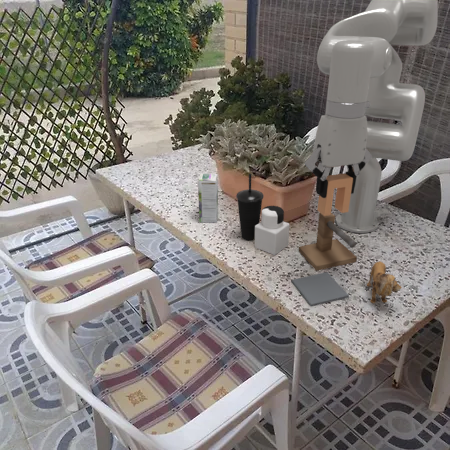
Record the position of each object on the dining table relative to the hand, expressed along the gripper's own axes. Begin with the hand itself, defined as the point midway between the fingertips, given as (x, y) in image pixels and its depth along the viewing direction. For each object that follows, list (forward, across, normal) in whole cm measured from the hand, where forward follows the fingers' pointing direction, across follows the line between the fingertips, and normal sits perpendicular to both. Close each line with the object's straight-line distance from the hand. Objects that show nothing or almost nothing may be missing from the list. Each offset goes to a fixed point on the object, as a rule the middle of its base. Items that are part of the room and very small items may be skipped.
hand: (334, 192), depth 91 cm
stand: (+25, -8, -9) cm, 28 cm away
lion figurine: (+26, -11, +7) cm, 29 cm away
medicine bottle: (+25, +4, -22) cm, 34 cm away
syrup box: (+25, +16, -44) cm, 53 cm away
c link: (+4, 0, 0) cm, 4 cm away
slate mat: (+25, +1, 0) cm, 25 cm away
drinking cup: (+25, +8, -29) cm, 39 cm away
